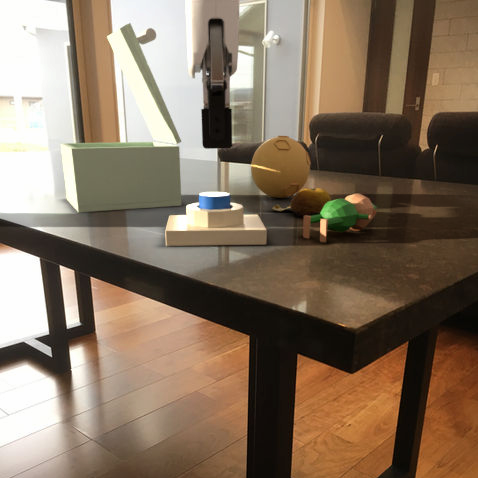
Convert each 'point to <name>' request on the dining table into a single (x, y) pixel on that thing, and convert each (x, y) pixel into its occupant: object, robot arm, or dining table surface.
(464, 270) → the dining table surface
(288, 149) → the stress ball
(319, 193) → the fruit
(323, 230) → the figurine
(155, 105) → the lid
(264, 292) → the dining table surface
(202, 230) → the control block
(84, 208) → the compartment
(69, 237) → the dining table surface
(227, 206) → the button
